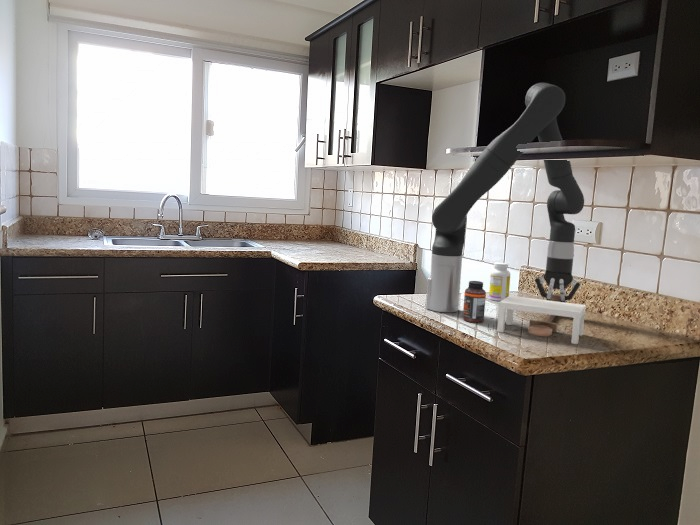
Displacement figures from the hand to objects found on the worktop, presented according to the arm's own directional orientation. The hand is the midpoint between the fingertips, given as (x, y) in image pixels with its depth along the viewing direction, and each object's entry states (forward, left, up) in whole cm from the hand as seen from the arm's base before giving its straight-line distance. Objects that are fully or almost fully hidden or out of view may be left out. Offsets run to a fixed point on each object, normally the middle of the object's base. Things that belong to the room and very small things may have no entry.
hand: (554, 311), depth 174 cm
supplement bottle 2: (-21, +15, -1) cm, 25 cm away
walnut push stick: (0, -9, -1) cm, 9 cm away
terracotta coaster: (0, -27, -1) cm, 27 cm away
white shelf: (0, -27, -1) cm, 27 cm away
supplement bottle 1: (-19, -24, -1) cm, 31 cm away
